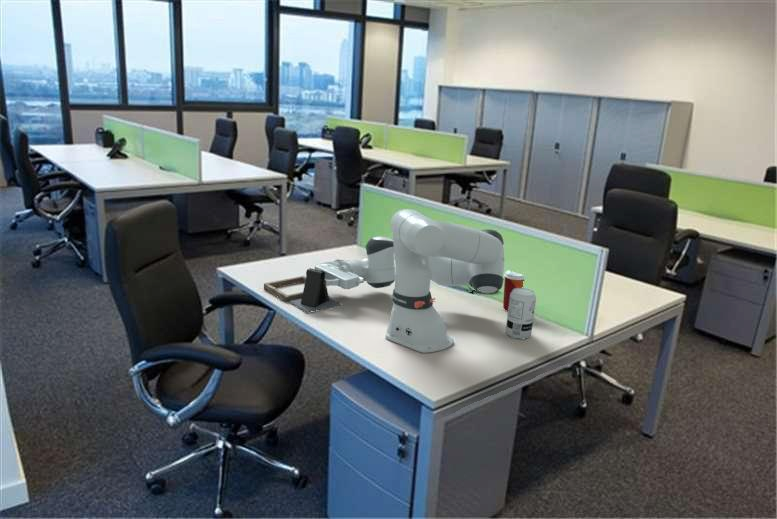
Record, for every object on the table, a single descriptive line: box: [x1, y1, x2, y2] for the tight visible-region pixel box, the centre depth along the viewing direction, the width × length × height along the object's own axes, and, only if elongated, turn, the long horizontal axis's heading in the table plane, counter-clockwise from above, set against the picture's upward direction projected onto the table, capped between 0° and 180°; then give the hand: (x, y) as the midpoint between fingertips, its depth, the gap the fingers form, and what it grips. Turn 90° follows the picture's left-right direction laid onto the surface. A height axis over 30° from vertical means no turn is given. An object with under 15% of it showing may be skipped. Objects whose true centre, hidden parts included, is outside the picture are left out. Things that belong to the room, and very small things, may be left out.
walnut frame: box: [263, 275, 306, 303], centre depth 221 cm, size 16×17×2 cm
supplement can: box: [505, 287, 537, 340], centre depth 191 cm, size 8×8×15 cm
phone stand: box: [301, 267, 330, 307], centre depth 208 cm, size 9×6×12 cm, turn 151°
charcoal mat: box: [288, 297, 342, 314], centre depth 210 cm, size 12×14×1 cm
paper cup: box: [502, 269, 526, 312], centre depth 212 cm, size 8×8×14 cm
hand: (318, 279), depth 208 cm, fingers open, 8 cm apart
